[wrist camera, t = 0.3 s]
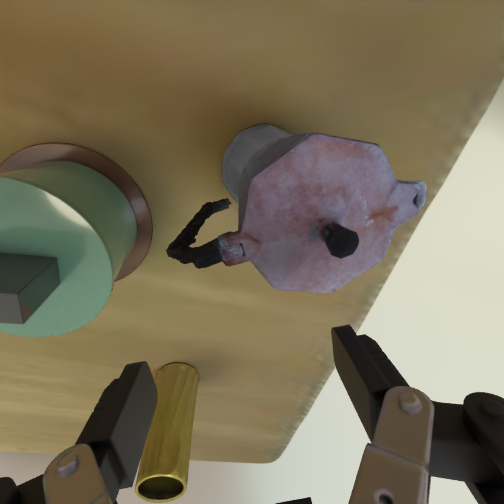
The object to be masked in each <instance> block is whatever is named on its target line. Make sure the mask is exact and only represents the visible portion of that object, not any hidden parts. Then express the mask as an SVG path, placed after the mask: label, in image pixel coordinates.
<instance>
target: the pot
mask: <svg viewBox="0 0 504 504" xmlns="http://www.w3.org/2000/svg"><path fill="white" fill-rule="evenodd" d="M136 238H137V224H136V219H135V215H134V212H133V210H132V207H131V205H130V204H129V202H128V200H127V199H126V197H125V196H124V194H123V193H122V192H121V191H120V189H119V188H118V187H117V186H116V185H115V184H114V183H113V182H112V181H110V180H109V179H108V178H106V177H105V176H104V175H102V174H101V173H99V172H97V171H95V170H94V169H91V168H89V167H87V166H84V165H81V164H78V163H75V162H70V161H62V160H49V161H43V162H38V163H34V164H31V165H28V166H24V167H21V168H17V169H14V170H10V171H7V172H4V173H0V332H4V333H7V334H13V335H18V336H27V337H47V336H55V335H60V334H65V333H68V332H71V331H74V330H76V329H78V328H80V327H82V326H84V325H85V324H87V323H89V322H90V321H91V320H93V319H94V318H95V317H96V316H97V315H98V314H99V313H100V312H101V310H102V309H103V308H104V306H105V304H106V303H107V301H108V299H109V297H110V295H111V292H112V290H113V285H114V280H115V279H116V277H117V275H118V274H119V272H120V270H121V269H122V267H123V266H124V264H125V262H126V261H127V259H128V257H129V256H130V254H131V252H132V251H133V248H134V246H135V242H136Z"/></svg>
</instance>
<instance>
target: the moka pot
mask: <svg viewBox="0 0 504 504" xmlns="http://www.w3.org/2000/svg"><path fill="white" fill-rule="evenodd" d="M222 182H223V184H224V185H225V187H226V189H227V190H228V191H229V193H230V194H231V196H232V197H233V198H234V199H235V200H236V202H237V203H238V204H239V208H238V211H239V214H238V215H239V224H238V231H236V232H227V233H224V234H222V235H220V236H218V238H216V239H214V240H212V241H210V242H208V243H206V244H204V245H202V246H200V247H194V248H191V247H189V245H191V244H192V243H195V242H196V239H194V238H195V236H196V235H197V234H198V231H199V229H200V227H202V225H203V224H204V222H205V220H206V219H207V218H209V217H210V216H211V215H212V214H214V213H216V212H219V211H222V210H224V209H227V208H229V205H230V204H232V203H231V202H230V201H229V200H228V198H227V199H222V200H219V201H215V202H213V203H212V202H207V203H206V204H204V205H203V206H202V208H201V209H200V211H199V212H197V213H196V214H195V216H194V217H193V219H192V220H191V221H190V222H189V223H188V224H187V226H186V228H184V229H183V230H182V232H181V233H180V234H179V235H178V236H177V238H176V239H175V240H174V241H173V242H172V243H171V244H170V245H169V247H168V249H167V250H166V252H167V254H168V256H169V257H172V258H173V259H177V260H179V261H180V262H181V263H183V264H187V263H194V265H195V267H197V268H199V269H200V268H206V267H209V266H212V265H214V264H217V263H219V262H223V263H224V264H225V265H226V266H233V265H236V264H240V263H244V262H247V261H251V263H252V264H253V265H254V266H255V267H256V268H257V270H258V271H259V272H260V273H261V274H262V275H263V277H264V278H265V279H266V280H267V281H268V283H269V284H270V285H271V286H272V287H273V288H274V289H275V290H287V291H302V292H317V293H331V292H334V291H336V290H337V289H339V288H340V287H342V286H343V285H345V284H346V283H348V282H349V281H351V280H352V279H354V278H356V277H357V276H359V275H360V274H362V273H364V272H365V271H367V270H368V269H370V268H372V267H373V266H375V265H377V264H378V263H379V262H380V261H382V260H383V258H384V256H385V253H386V251H387V249H388V246H389V244H390V242H391V239H392V236H393V234H394V232H395V230H396V228H397V227H399V226H400V225H402V224H403V223H405V222H406V221H408V220H409V219H411V218H412V217H414V216H415V215H417V213H418V211H419V209H420V208H421V207H422V206H423V205H424V203H425V201H426V190H427V186H426V184H425V182H424V181H400V180H396V178H395V176H394V174H393V172H392V169H391V167H390V164H389V162H388V159H387V157H386V156H385V154H384V152H383V150H382V148H381V147H380V146H379V145H378V144H376V143H370V142H365V141H359V140H354V139H348V138H343V137H337V136H332V135H327V134H321V133H316V132H309V133H304V134H299V135H295V136H294V135H293V134H291V133H289V132H287V131H285V130H282V129H280V128H278V127H275V126H273V125H270V124H267V123H265V124H260V125H257V126H254V127H251V128H247V129H245V130H242V131H240V132H239V133H238V134H237V135H236V136H235V138H234V139H233V140H232V142H231V143H230V145H229V146H228V148H227V149H226V151H225V153H224V154H223V165H222Z"/></svg>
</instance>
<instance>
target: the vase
mask: <svg viewBox="0 0 504 504" xmlns="http://www.w3.org/2000/svg"><path fill="white" fill-rule="evenodd" d="M198 381H199V375H198V373H197V371H196V370H195V369H194V368H193V367H191V366H189V365H187V364H182V363H173V364H169V365H166V366H164V367H163V368H162V369H160V371H159V372H158V373H157V376H156V389H157V394H158V401H157V406H156V409H155V413H154V416H153V419H152V423H151V426H150V429H149V433H148V436H147V439H146V442H145V446H144V449H143V452H142V457H141V462H140V467H139V472H138V476H137V481H136V486H135V492H136V494H137V496H138V497H140V498H141V499H143V500H145V501H149V502H155V503H157V502H158V503H162V502H169V501H173V500H175V499H177V498H179V497H181V496H182V495H183V494H184V493H185V491H186V488H187V481H188V469H189V458H190V447H191V437H192V428H193V420H194V411H195V404H196V396H197V387H198Z"/></svg>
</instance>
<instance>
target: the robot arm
mask: <svg viewBox="0 0 504 504" xmlns="http://www.w3.org/2000/svg"><path fill="white" fill-rule="evenodd" d="M331 333H332V344H333V354H334V361H335V365H336V369H337V371H338V374H339V376H340V378H341V380H342V382H343V384H344V386H345V388H346V390H347V393H348V395H349V397H350V399H351V401H352V403H353V405H354V407H355V409H356V411H357V413H358V416H359V418H360V420H361V422H362V424H363V426H364V428H365V430H366V432H367V435H368V437H369V439H370V441H371V444H370V443H367V445H366V447H365V450H364V453H363V456H362V460H361V463H360V467H359V470H358V473H357V476H356V480H355V483H354V487H353V490H352V494H351V497H350V500H349V503H348V504H429V494H430V483H431V476H434V477H440V478H446V479H452V480H458V481H464V482H465V483H466V485H467V487H468V488H469V490H470V491H471V493H472V494H473V496H474V498H475V499H476V500H477V502H478V504H504V398H502V397H499V396H497V395H494V394H490V393H485V392H475V393H471V394H469V395H467V396H466V397H465V399H464V404H463V405H461V404H450V403H441V402H435V401H432V400H430V398H429V397H428V396H427V395H426V394H424V393H423V392H421V391H420V390H417V389H415V388H412V387H410V386H409V385H408V384H407V382H406V381H405V379H404V378H403V377H402V376H401V374H400V373H399V372H398V370H397V369H396V368H395V366H394V365H393V364H392V362H391V361H390V360H389V359H388V357H387V356H386V354H385V353H384V352H383V351H382V349H381V348H380V346H379V345H378V344H377V343H376V341H375V340H373V339H372V338H370V337H368V336H367V335H365V334H364V335H359V336H357V335H356V333H355V332H354V330H353V329H352V327H351V326H350V325H344V326H339V327H333V328H332V329H331ZM157 401H158V394H157V389H156V386H155V383H154V380H153V377H152V374H151V371H150V368H149V366H148V363H147V362H146V361H143V362H137V363H132V364H127V365H126V366H125V368H124V370H123V372H122V374H121V376H120V378H118V379H114V380H113V381H112V383H111V384H110V385H109V386H108V387H107V388H106V389H105V390H104V392H103V394H102V396H101V397H100V399H99V403H97V405H96V407H95V408H94V412H92V414H91V416H90V418H89V419H88V421H87V423H86V425H85V427H84V429H83V431H82V432H81V434H80V436H79V438H78V440H77V442H76V443H75V445H74V446H72V447H70V448H68V449H66V450H64V451H63V452H62V453H60V454H59V455H58V456H57V457H56V458H55V459H54V460H53V461H52V462H51V463H50V465H49V466H48V467H47V469H46V471H45V473H44V474H42V475H40V476H38V477H36V478H34V479H31V480H29V481H27V482H25V483H23V484H21V485H18V486H16V484H15V482H14V481H13V479H11V478H9V477H3V478H0V504H118V503H117V501H116V498H117V495H118V492H119V489H123V488H128V487H132V485H133V482H134V479H135V475H136V472H137V469H138V466H139V462H140V459H141V456H142V452H143V449H144V446H145V442H146V439H147V436H148V433H149V429H150V426H151V423H152V419H153V416H154V413H155V409H156V406H157ZM276 504H312V501H311V498H310V497H308V498H303V499H297V500H292V501H286V502H281V503H276Z"/></svg>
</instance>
